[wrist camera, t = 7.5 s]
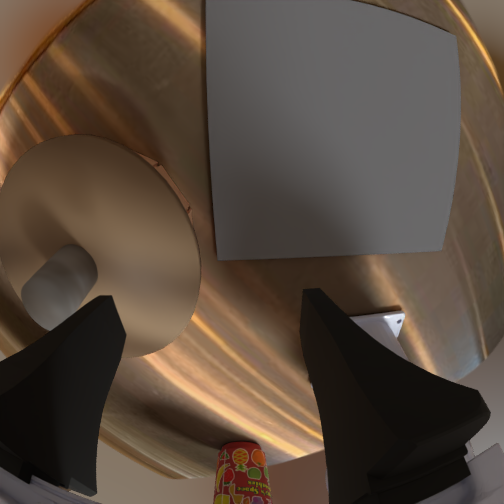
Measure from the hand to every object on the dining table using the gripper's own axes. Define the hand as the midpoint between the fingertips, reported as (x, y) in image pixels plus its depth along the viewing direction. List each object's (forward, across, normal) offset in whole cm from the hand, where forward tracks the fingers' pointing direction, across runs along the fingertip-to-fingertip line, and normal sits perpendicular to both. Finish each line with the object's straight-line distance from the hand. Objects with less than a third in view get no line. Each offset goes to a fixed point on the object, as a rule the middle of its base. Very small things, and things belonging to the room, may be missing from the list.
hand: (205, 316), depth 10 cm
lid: (+5, +8, 0) cm, 10 cm away
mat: (+9, -9, -6) cm, 14 cm away
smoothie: (+10, +1, +34) cm, 36 cm away
